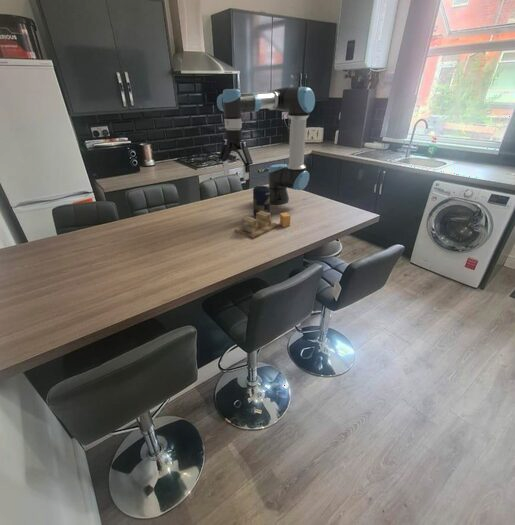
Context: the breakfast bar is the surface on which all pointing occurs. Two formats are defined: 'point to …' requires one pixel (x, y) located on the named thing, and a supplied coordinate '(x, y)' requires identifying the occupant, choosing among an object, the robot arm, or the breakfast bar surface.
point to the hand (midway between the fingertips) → (236, 177)
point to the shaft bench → (258, 233)
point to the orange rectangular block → (285, 219)
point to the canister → (261, 199)
